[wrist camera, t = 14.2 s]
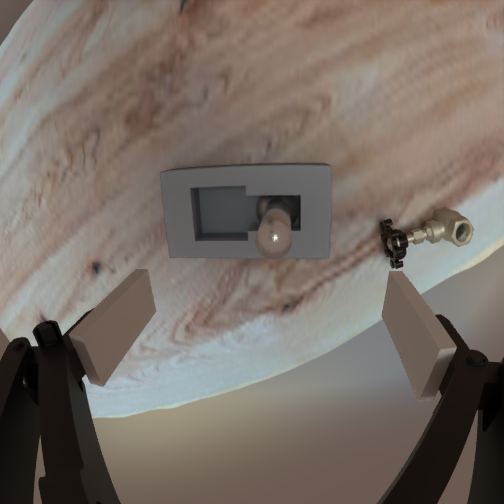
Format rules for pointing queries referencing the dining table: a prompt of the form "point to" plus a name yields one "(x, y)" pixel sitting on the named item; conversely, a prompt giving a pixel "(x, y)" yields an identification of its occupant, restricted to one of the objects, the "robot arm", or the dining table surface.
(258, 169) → the keyhole board
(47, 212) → the dining table surface
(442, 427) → the robot arm
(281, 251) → the flanged metal peg
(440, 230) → the valve
